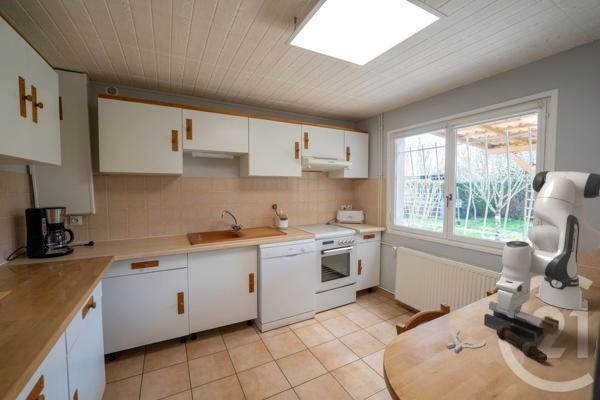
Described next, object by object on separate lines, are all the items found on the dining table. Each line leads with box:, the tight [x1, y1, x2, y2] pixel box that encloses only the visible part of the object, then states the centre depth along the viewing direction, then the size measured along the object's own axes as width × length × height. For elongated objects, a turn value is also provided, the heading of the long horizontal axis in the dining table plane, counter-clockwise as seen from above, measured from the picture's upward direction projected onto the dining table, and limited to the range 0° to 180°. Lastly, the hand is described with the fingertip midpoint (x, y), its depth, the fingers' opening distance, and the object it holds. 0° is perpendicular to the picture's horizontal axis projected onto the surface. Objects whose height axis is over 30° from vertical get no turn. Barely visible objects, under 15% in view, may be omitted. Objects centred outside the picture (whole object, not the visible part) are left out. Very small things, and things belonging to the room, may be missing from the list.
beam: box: [542, 315, 560, 335], centre depth 107 cm, size 6×18×4 cm, turn 30°
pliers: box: [445, 330, 486, 354], centre depth 92 cm, size 10×2×15 cm
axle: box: [488, 300, 543, 328], centre depth 99 cm, size 16×4×4 cm, turn 30°
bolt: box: [496, 325, 548, 363], centre depth 89 cm, size 6×5×15 cm
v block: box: [483, 310, 545, 345], centre depth 100 cm, size 10×16×4 cm, turn 30°
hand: (513, 315), depth 100 cm, fingers closed on axle, 3 cm apart
